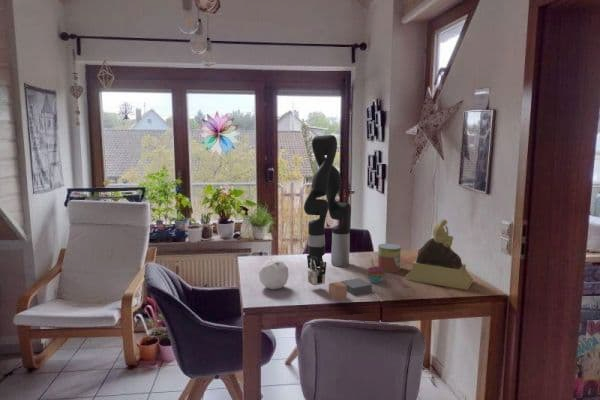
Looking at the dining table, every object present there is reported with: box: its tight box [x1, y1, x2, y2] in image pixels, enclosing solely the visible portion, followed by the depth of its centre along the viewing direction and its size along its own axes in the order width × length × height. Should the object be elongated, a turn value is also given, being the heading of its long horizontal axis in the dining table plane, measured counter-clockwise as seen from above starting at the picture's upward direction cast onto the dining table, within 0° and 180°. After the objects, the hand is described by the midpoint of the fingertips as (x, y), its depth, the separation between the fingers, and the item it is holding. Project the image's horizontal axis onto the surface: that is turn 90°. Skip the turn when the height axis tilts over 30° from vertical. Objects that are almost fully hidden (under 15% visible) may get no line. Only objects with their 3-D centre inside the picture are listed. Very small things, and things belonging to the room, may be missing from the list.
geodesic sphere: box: [258, 258, 290, 290], centre depth 196 cm, size 14×14×14 cm
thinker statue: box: [405, 219, 474, 291], centre depth 205 cm, size 28×13×30 cm, turn 60°
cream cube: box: [307, 269, 326, 286], centre depth 195 cm, size 6×6×6 cm
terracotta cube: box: [328, 281, 348, 301], centre depth 186 cm, size 6×6×6 cm
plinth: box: [340, 277, 373, 295], centre depth 195 cm, size 10×10×3 cm
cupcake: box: [365, 257, 386, 284], centre depth 205 cm, size 9×8×12 cm
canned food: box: [377, 243, 402, 273], centre depth 224 cm, size 11×11×12 cm
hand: (316, 280), depth 195 cm, fingers closed on cream cube, 5 cm apart
